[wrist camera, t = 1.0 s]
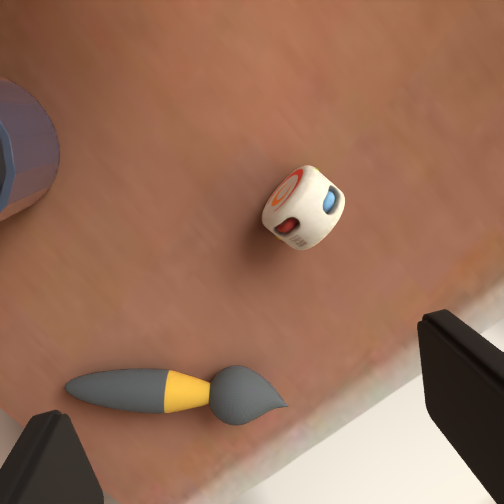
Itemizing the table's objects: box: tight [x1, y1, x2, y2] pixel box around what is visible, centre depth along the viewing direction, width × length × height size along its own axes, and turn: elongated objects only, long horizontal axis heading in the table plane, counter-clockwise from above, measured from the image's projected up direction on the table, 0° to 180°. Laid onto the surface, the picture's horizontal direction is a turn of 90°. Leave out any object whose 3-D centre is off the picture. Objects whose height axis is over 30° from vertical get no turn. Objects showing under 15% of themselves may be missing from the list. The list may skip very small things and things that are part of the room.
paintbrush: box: [64, 366, 288, 425], centre depth 36 cm, size 20×5×5 cm, turn 90°
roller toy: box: [262, 166, 345, 250], centre depth 32 cm, size 4×6×6 cm
